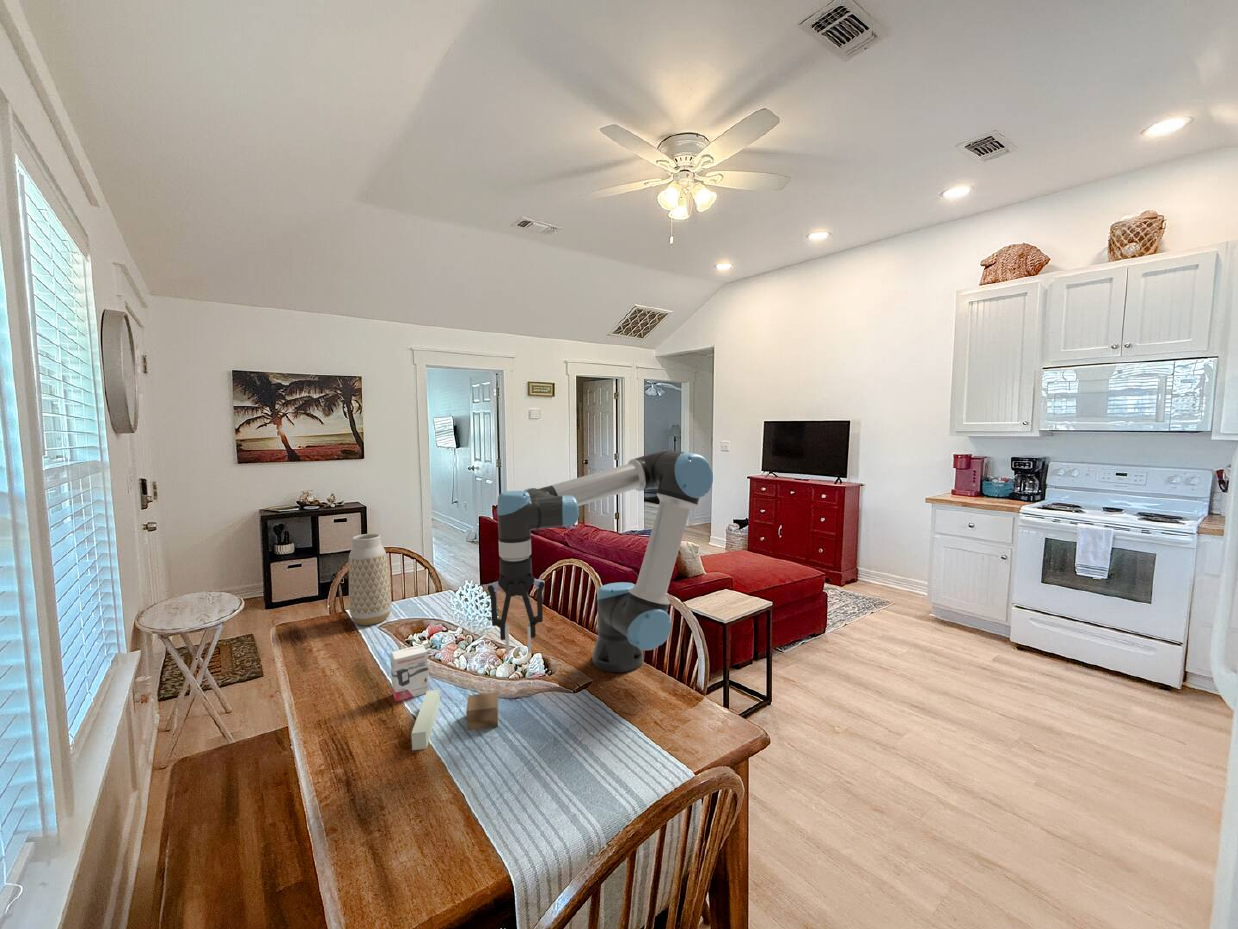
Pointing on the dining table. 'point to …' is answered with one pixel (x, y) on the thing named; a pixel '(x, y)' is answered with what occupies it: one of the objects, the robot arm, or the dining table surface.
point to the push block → (482, 711)
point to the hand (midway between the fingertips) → (518, 650)
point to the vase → (368, 580)
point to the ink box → (409, 672)
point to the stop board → (425, 720)
